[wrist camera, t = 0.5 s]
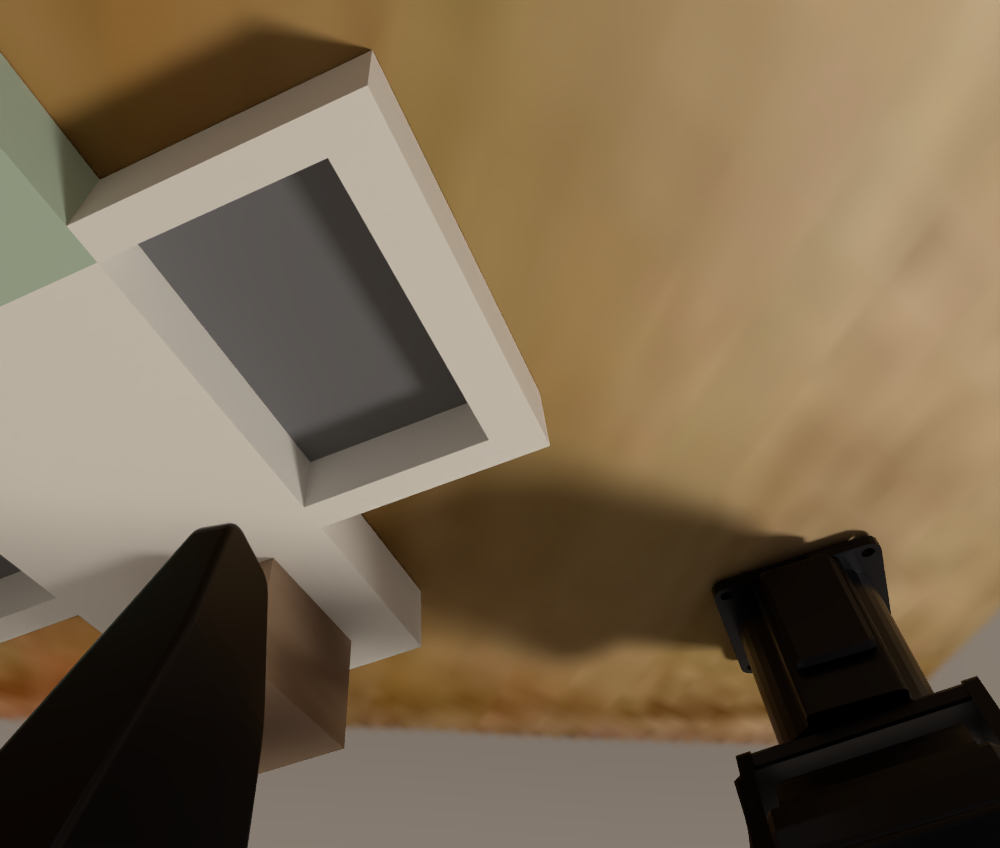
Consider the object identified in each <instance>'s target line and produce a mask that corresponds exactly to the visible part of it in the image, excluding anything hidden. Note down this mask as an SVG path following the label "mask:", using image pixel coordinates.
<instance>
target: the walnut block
mask: <svg viewBox="0 0 1000 848" xmlns="http://www.w3.org/2000/svg"><path fill="white" fill-rule="evenodd" d="M259 564H260V566H261V567H262V569H263V572H264V574H265V577H266V581H267V587H268V615H267V652H266V690H265V717H264V731H263V740H262V749H261V756H260V763H259V770H258V774H260V773H263V772H267V771H270V770H273V769H277V768H280V767H283V766H286V765H290V764H293V763H297V762H300V761H303V760H307V759H310V758H313V757H317V756H320V755H323V754H326V753H330V752H333V751H337V750H340V749H343V748H344V742H345V728H346V713H347V698H348V684H349V669H350V654H351V640H350V639H349V638H348V637H347V636H346V635H345V634H344V633H343V631H342V630H341V629H340V628H339V627H338V626H337V625H336V624H335V623H334V622H333V621H332V620H331V619H330V618H329V617H328V615H327V614H326V613H325V612H324V611H323V610H322V609H321V608H320V607H319V606H318V605H317V604H316V603H315V602H314V601H313V599H312V598H311V597H310V596H309V595H308V594H307V593H306V592H305V591H304V590H303V589H302V588H301V587H300V586H299V585H298V584H297V582H296V581H295V580H294V579H293V578H292V577H291V576H290V575H289V574H288V573H287V572H286V571H285V570H284V569H283V568H282V566H281V565H280V564H279V563H278V562H277V561H276V560H275V559H274V558H271V559H268V560H265V561H263V562H260V563H259Z"/></svg>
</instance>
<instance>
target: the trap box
mask: <svg viewBox="0 0 1000 848" xmlns="http://www.w3.org/2000/svg"><path fill="white" fill-rule="evenodd" d="M548 446H550V443H549V438H548V433H547V428H546V423H545V418H544V413H543V408H542V403H541V397H540V393H539V391H538V389H537V387H536V385H535V382H534V380H533V378H532V376H531V374H530V372H529V370H528V368H527V366H526V364H525V362H524V360H523V358H522V356H521V354H520V352H519V350H518V348H517V346H516V344H515V342H514V339H513V337H512V335H511V333H510V331H509V329H508V327H507V325H506V323H505V321H504V319H503V317H502V315H501V313H500V311H499V309H498V307H497V305H496V303H495V301H494V299H493V296H492V294H491V292H490V290H489V288H488V286H487V284H486V282H485V280H484V278H483V276H482V274H481V272H480V270H479V268H478V266H477V264H476V262H475V260H474V258H473V255H472V253H471V251H470V249H469V247H468V245H467V243H466V241H465V239H464V237H463V235H462V233H461V231H460V229H459V227H458V225H457V223H456V221H455V219H454V217H453V215H452V212H451V210H450V208H449V206H448V204H447V202H446V200H445V198H444V196H443V194H442V192H441V190H440V188H439V186H438V184H437V182H436V180H435V178H434V176H433V174H432V172H431V169H430V167H429V165H428V163H427V161H426V159H425V157H424V155H423V153H422V151H421V149H420V147H419V145H418V143H417V141H416V139H415V137H414V135H413V133H412V131H411V128H410V126H409V124H408V122H407V120H406V118H405V116H404V114H403V112H402V110H401V108H400V106H399V104H398V102H397V100H396V98H395V96H394V94H393V92H392V90H391V88H390V85H389V83H388V81H387V79H386V77H385V75H384V73H383V71H382V69H381V67H380V65H379V63H378V61H377V59H376V57H375V55H374V53H373V51H372V50H371V51H369V52H367V53H365V54H363V55H361V56H359V57H356V58H354V59H352V60H350V61H348V62H346V63H344V64H342V65H340V66H338V67H335V68H333V69H331V70H329V71H327V72H325V73H323V74H321V75H319V76H317V77H314V78H312V79H310V80H308V81H306V82H304V83H302V84H300V85H298V86H296V87H293V88H291V89H289V90H287V91H285V92H283V93H281V94H279V95H277V96H275V97H272V98H270V99H268V100H266V101H264V102H262V103H260V104H258V105H256V106H254V107H251V108H249V109H247V110H245V111H243V112H241V113H239V114H237V115H235V116H233V117H230V118H228V119H226V120H224V121H222V122H220V123H218V124H216V125H214V126H212V127H209V128H207V129H205V130H203V131H201V132H199V133H197V134H195V135H193V136H191V137H188V138H186V139H184V140H182V141H180V142H178V143H176V144H174V145H172V146H170V147H167V148H165V149H163V150H161V151H159V152H157V153H155V154H153V155H151V156H149V157H146V158H144V159H142V160H140V161H138V162H136V163H134V164H132V165H130V166H128V167H125V168H123V169H121V170H119V171H117V172H115V173H113V174H111V175H109V176H107V177H104V178H102V179H100V180H99V178H98V177H97V176H96V174H95V173H94V172H93V171H92V169H91V168H90V167H89V166H88V164H87V163H86V162H85V160H84V159H83V158H82V157H81V155H80V154H79V153H78V151H77V150H76V149H75V148H74V146H73V145H72V144H71V142H70V141H69V140H68V139H67V137H66V136H65V135H64V134H63V132H62V131H61V130H60V128H59V127H58V126H57V125H56V123H55V122H54V121H53V119H52V118H51V117H50V116H49V114H48V113H47V112H46V110H45V109H44V108H43V107H42V105H41V104H40V103H39V101H38V100H37V99H36V98H35V96H34V95H33V94H32V93H31V91H30V90H29V89H28V87H27V86H26V85H25V84H24V82H23V81H22V80H21V78H20V77H19V76H18V75H17V73H16V72H15V71H14V69H13V68H12V67H11V66H10V64H9V63H8V62H7V60H6V59H5V58H4V57H3V55H2V54H1V53H0V643H1V642H4V641H7V640H10V639H13V638H15V637H18V636H21V635H24V634H27V633H29V632H32V631H35V630H38V629H40V628H43V627H46V626H49V625H52V624H54V623H57V622H60V621H63V620H66V619H68V618H71V617H74V616H77V615H79V616H80V617H82V618H83V619H84V620H85V621H87V622H88V623H89V624H91V625H92V626H93V627H94V628H96V629H97V630H98V631H100V632H101V633H102V634H103V633H104V631H105V630H106V629H107V628H108V627H109V626H110V625H111V624H112V622H113V621H114V620H115V619H116V618H117V617H118V616H119V615H120V613H121V612H122V611H123V610H124V609H125V608H126V607H127V605H128V604H129V603H130V602H131V601H132V600H133V599H134V598H135V596H136V595H137V594H138V593H139V592H140V591H141V590H142V589H143V587H144V586H145V585H146V584H147V583H148V582H149V581H150V579H151V578H152V577H153V576H154V575H155V574H156V573H157V572H158V570H159V569H160V568H161V567H162V566H163V565H164V564H165V562H166V561H167V560H168V559H169V558H170V557H171V556H172V555H173V553H174V552H175V551H176V550H177V549H178V548H179V547H180V546H181V544H182V543H183V542H184V541H185V540H186V539H187V538H188V536H189V535H190V534H191V533H192V532H194V531H195V530H197V529H199V528H202V527H208V526H214V525H220V524H226V523H233V524H236V525H237V526H238V527H240V529H241V530H242V531H243V533H244V535H245V537H246V539H247V541H248V543H249V544H250V546H251V548H252V550H253V552H254V554H255V556H256V558H257V560H258V562H259V563H260V562H263V561H265V560H268V559H271V558H274V559H275V560H276V561H277V562H278V563H279V564H280V565H281V566H282V568H283V569H284V570H285V571H286V572H287V573H288V574H289V575H290V576H291V577H292V578H293V579H294V580H295V581H296V582H297V584H298V585H299V586H300V587H301V588H302V589H303V590H304V591H305V592H306V593H307V594H308V595H309V596H310V597H311V598H312V599H313V601H314V602H315V603H316V604H317V605H318V606H319V607H320V608H321V609H322V610H323V611H324V612H325V613H326V614H327V615H328V617H329V618H330V619H331V620H332V621H333V622H334V623H335V624H336V625H337V626H338V627H339V628H340V629H341V630H342V631H343V633H344V634H345V635H346V636H347V637H348V638H349V639H350V640H351V654H350V669H353V668H356V667H359V666H362V665H366V664H369V663H372V662H375V661H378V660H381V659H384V658H388V657H391V656H394V655H397V654H400V653H403V652H406V651H409V650H413V649H416V648H419V647H421V591H420V589H419V588H418V587H417V586H416V584H415V583H414V582H413V581H412V579H411V578H410V577H409V575H408V574H407V573H406V572H405V570H404V569H403V568H402V566H401V565H400V564H399V563H398V561H397V560H396V559H395V557H394V556H393V555H392V554H391V552H390V551H389V550H388V549H387V547H386V546H385V545H384V543H383V542H382V541H381V540H380V538H379V537H378V536H377V534H376V533H375V532H374V531H373V529H372V528H371V527H370V525H369V524H368V523H367V522H366V520H365V519H364V518H363V516H362V515H361V513H364V512H367V511H370V510H372V509H375V508H378V507H381V506H384V505H386V504H389V503H392V502H395V501H398V500H400V499H403V498H406V497H409V496H412V495H414V494H417V493H420V492H423V491H426V490H428V489H431V488H434V487H437V486H439V485H442V484H445V483H448V482H451V481H453V480H456V479H459V478H462V477H465V476H467V475H470V474H473V473H476V472H479V471H481V470H484V469H487V468H490V467H492V466H495V465H498V464H501V463H504V462H506V461H509V460H512V459H515V458H518V457H520V456H523V455H526V454H529V453H532V452H534V451H537V450H540V449H543V448H545V447H548ZM350 669H349V670H350Z"/></svg>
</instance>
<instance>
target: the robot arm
mask: <svg viewBox="0 0 1000 848" xmlns="http://www.w3.org/2000/svg"><path fill="white" fill-rule="evenodd" d="M712 594H713V596H714V599H715V602H716V604H717V607H718V610H719V612H720V615H721V617H722V620H723V623H724V625H725V628H726V630H727V633H728V635H729V638H730V641H731V643H732V646H733V648H734V651H735V654H736V656H737V659H738V661H739V664H740V667H741V669H742V671H743V672H745V673H753V675H754V678H755V681H756V683H757V686H758V689H759V692H760V694H761V697H762V700H763V703H764V705H765V708H766V711H767V713H768V716H769V719H770V722H771V724H772V727H773V730H774V733H775V735H776V738H777V741H778V744H779V745H776V746H773V747H770V748H767V749H764V750H761V751H758V752H755V753H751V752H750V751H749V752H746V753H743V754H740V755H737V756H736V759H737V764H738V768H739V772H740V776H739V777H738V778H737V779H736V780H735V781H734V783H735V786H736V789H737V793H738V796H739V799H740V803H741V806H742V809H743V813H744V816H745V820H746V824H747V828H748V834H749V843H750V848H1000V709H999V708H998V706H997V705H996V703H995V702H994V700H993V699H992V697H991V696H990V694H989V693H988V692H987V690H986V689H985V687H984V686H983V684H982V683H981V681H980V680H979V678H978V677H977V676H975V677H972V678H969V679H966V680H963V681H961V683H962V684H960V685H957V686H954V687H951V688H948V689H945V690H942V691H939V692H936V693H934V692H933V690H932V689H931V687H930V685H929V683H928V681H927V679H926V678H925V676H924V674H923V672H922V670H921V668H920V667H919V665H918V663H917V661H916V659H915V658H914V656H913V654H912V652H911V650H910V648H909V647H908V645H907V643H906V641H905V639H904V638H903V636H902V634H901V632H900V630H899V628H898V627H897V625H896V623H895V621H894V619H893V617H892V616H891V611H890V604H889V597H888V590H887V584H886V577H885V570H884V563H883V557H882V550H881V547H880V545H879V543H878V542H877V540H876V538H875V537H873V536H863V537H860V538H857V539H853V540H850V541H847V542H844V543H841V544H837V545H834V546H831V547H828V548H825V549H821V550H818V551H815V552H812V553H809V554H805V555H802V556H799V557H796V558H792V559H789V560H786V561H783V562H780V563H776V564H773V565H770V566H767V567H764V568H760V569H757V570H754V571H751V572H748V573H744V574H741V575H738V576H735V577H732V578H728V579H725V580H722V581H720V582H717V583H716V584H715V585H714V586H713V587H712ZM267 615H268V587H267V581H266V577H265V574H264V572H263V569H262V567H261V566H260V564H259V562H258V560H257V558H256V556H255V554H254V552H253V550H252V548H251V546H250V544H249V543H248V541H247V539H246V537H245V535H244V533H243V531H242V530H241V529H240V527H238V526H237V525H236V524H233V523H226V524H220V525H214V526H208V527H202V528H199V529H197V530H195V531H194V532H192V533H191V534H190V535H189V536H188V538H187V539H186V540H185V541H184V542H183V543H182V544H181V546H180V547H179V548H178V549H177V550H176V551H175V552H174V553H173V555H172V556H171V557H170V558H169V559H168V560H167V561H166V562H165V564H164V565H163V566H162V567H161V568H160V569H159V570H158V572H157V573H156V574H155V575H154V576H153V577H152V578H151V579H150V581H149V582H148V583H147V584H146V585H145V586H144V587H143V589H142V590H141V591H140V592H139V593H138V594H137V595H136V596H135V598H134V599H133V600H132V601H131V602H130V603H129V604H128V605H127V607H126V608H125V609H124V610H123V611H122V612H121V613H120V615H119V616H118V617H117V618H116V619H115V620H114V621H113V622H112V624H111V625H110V626H109V627H108V628H107V629H106V630H105V631H104V633H103V634H102V635H101V636H100V637H99V638H98V639H97V641H96V642H95V643H94V644H93V645H92V646H91V647H90V648H89V650H88V651H87V652H86V653H85V654H84V655H83V656H82V657H81V659H80V660H79V661H78V662H77V663H76V664H75V665H74V667H73V668H72V669H71V670H70V671H69V672H68V673H67V674H66V676H65V677H64V678H63V679H62V680H61V681H60V682H59V684H58V685H57V686H56V687H55V688H54V689H53V690H52V691H51V693H50V694H49V695H48V696H47V697H46V698H45V699H44V700H43V702H42V703H41V704H40V705H39V706H38V707H37V708H36V710H35V711H34V712H33V713H32V714H31V715H30V716H29V717H28V719H27V720H26V721H25V722H24V723H23V724H22V725H21V726H20V728H19V729H18V730H17V731H16V732H15V733H14V734H13V736H12V737H11V738H10V739H9V740H8V741H7V742H6V743H5V745H4V746H3V747H2V748H1V749H0V848H247V847H248V840H249V833H250V826H251V819H252V812H253V805H254V798H255V791H256V783H257V777H258V770H259V763H260V756H261V749H262V740H263V731H264V717H265V690H266V652H267Z"/></svg>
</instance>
